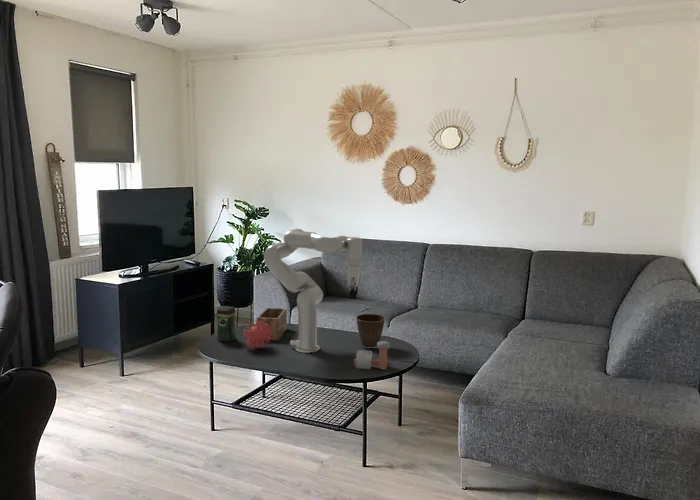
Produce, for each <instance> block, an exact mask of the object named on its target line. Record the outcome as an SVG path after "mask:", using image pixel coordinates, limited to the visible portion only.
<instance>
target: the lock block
mask: <svg viewBox="0 0 700 500" xmlns="http://www.w3.org/2000/svg"><path fill="white" fill-rule="evenodd" d="M356 358H357V361H356V367H371V361H372V359H373V350H364V349H362V350H361V349H358V350H357V351H356ZM356 367H355V368H356Z"/></svg>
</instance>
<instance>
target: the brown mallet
mask: <svg viewBox="0 0 700 500" xmlns="http://www.w3.org/2000/svg"><path fill="white" fill-rule="evenodd" d="M390 347H391V343H390V342H389V341H385V340H382V341H381V340H380V341H379V342H377V348H376V349H379V352H378V354H379V355H378V356H379V357H378V359H376V358H372V361H371V366H379V368H387V367H388V366H387V365H388V364H387V360H388V350H389V349H390ZM356 361H357V357H356V358H354V359H353V367H354V366H356ZM379 368H378V369H379ZM387 369H388V368H387Z"/></svg>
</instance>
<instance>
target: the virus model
mask: <svg viewBox="0 0 700 500" xmlns="http://www.w3.org/2000/svg"><path fill="white" fill-rule="evenodd" d="M257 321H258V320H257V319H255V321H254V320H252V321H250V323H251V324H250V325H248V324H247V325H245V326H244V327H245V328H247V329H245V328H244V329H243V332H242V333H243V334H242V338H243V341H244V342H245V344H246V346H248V347H249V348H251V349H254V350H256V349H259V348H261V349H263V348H265V347H266V346H268V344H269V343H270V341H271V340H270V339H269V338H270V337H269V336H272V334H270V333H271V332H272V331H270V326H269V325H268V324H267V323H266V324H265V323H264V322H263V321H261V322H257ZM262 322H263V324H265V325H266V326H268V327H269V328H268V327H266V326H265V325H264V326H263V325H262V326H261V323H262ZM257 323H260V324H258V325H257ZM267 329H268V330H269V331H270V333H269V332H268V330H267ZM267 336H268V337H267ZM266 337H267V339H269V340H267V339H265V338H266Z"/></svg>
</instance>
